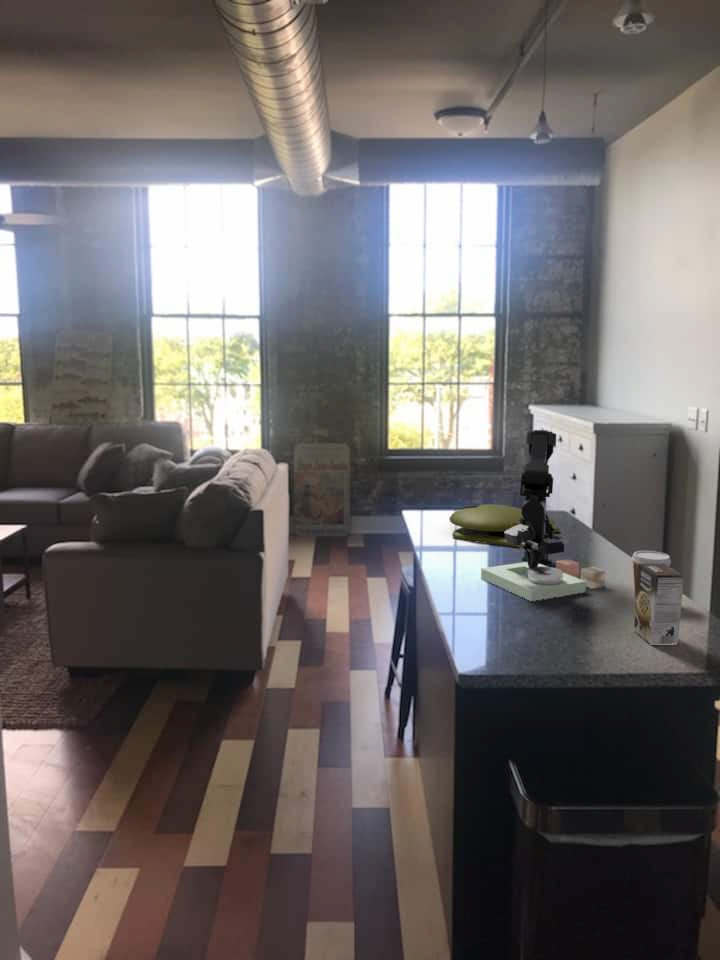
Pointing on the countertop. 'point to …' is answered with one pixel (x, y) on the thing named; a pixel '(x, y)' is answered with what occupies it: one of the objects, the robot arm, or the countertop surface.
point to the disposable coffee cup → (648, 561)
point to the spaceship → (488, 522)
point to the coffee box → (658, 603)
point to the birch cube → (593, 577)
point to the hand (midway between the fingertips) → (532, 571)
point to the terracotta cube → (568, 567)
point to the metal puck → (545, 575)
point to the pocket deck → (517, 582)
